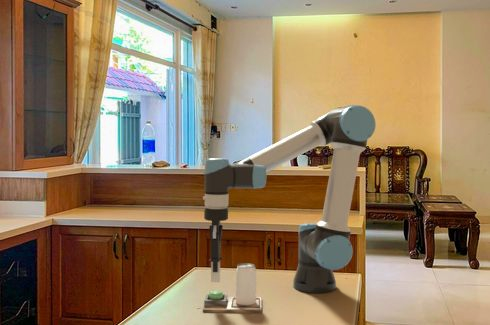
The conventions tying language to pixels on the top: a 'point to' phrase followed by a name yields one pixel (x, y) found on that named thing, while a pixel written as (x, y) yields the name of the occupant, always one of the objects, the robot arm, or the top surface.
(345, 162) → the robot arm
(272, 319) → the top surface
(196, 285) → the top surface
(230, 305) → the tan rectangular board
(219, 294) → the button
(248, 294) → the can
